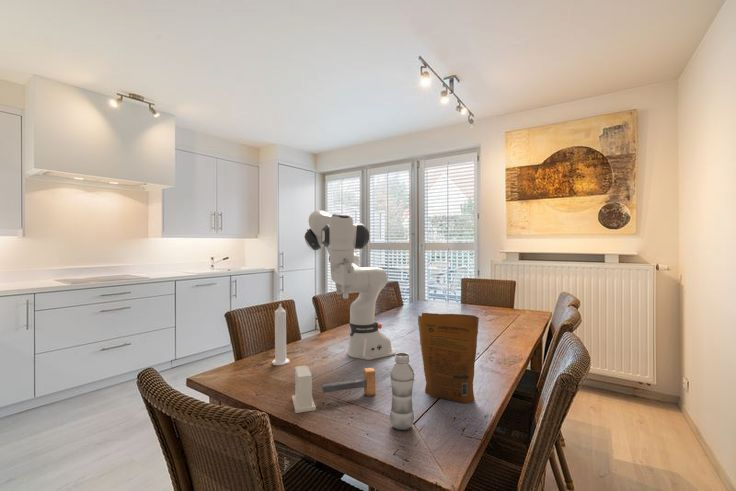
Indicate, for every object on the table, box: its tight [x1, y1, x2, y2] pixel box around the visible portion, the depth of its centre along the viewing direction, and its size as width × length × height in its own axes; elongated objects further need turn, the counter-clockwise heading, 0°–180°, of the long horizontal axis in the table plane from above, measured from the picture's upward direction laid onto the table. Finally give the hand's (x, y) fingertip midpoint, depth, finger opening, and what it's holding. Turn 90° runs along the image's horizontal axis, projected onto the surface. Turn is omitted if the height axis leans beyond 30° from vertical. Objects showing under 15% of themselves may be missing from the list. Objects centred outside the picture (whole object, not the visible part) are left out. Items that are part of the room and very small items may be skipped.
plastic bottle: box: [389, 352, 415, 431], centre depth 95 cm, size 6×7×20 cm
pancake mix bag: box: [417, 312, 480, 404], centre depth 113 cm, size 7×19×28 cm, turn 63°
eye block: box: [291, 364, 317, 414], centre depth 109 cm, size 6×10×10 cm, turn 18°
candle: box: [271, 303, 290, 366], centre depth 145 cm, size 7×7×25 cm
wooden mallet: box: [321, 367, 376, 397], centre depth 114 cm, size 18×3×8 cm, turn 108°
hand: (342, 296), depth 126 cm, fingers open, 8 cm apart
